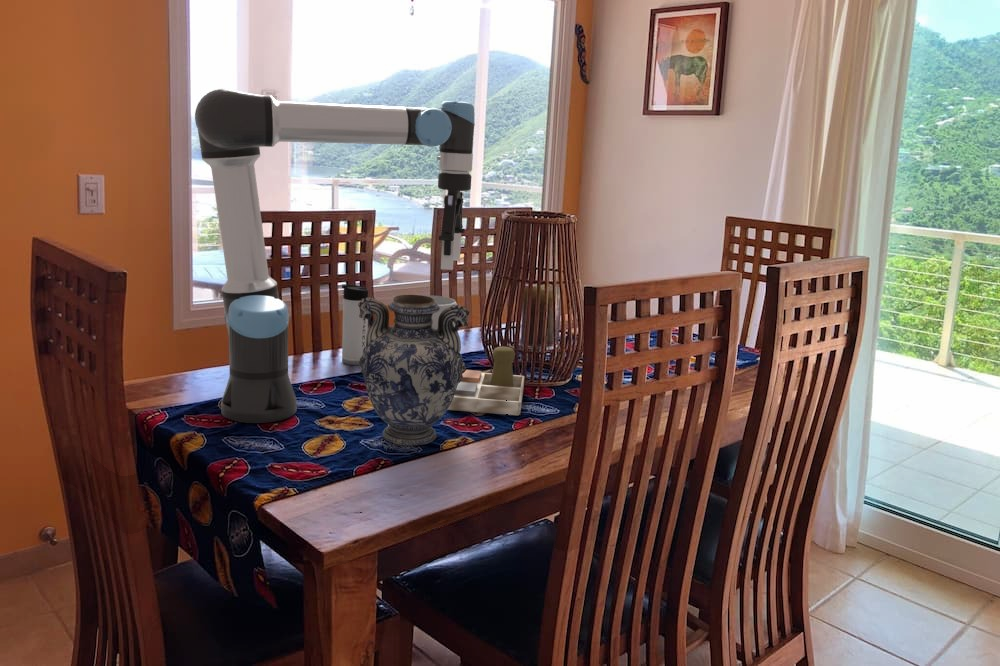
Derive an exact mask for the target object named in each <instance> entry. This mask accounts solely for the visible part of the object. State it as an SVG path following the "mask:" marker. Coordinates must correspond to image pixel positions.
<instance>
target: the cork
mask: <svg viewBox="0 0 1000 666" xmlns="http://www.w3.org/2000/svg"><path fill="white" fill-rule="evenodd" d="M515 356H516V353H515V349H513V348H512V347H509V346H497V347H495V348H494V349H493V352H492V358H493V361H494V363H493V368H492V377H491V382H490V385H492V386H505V387H514V385H513V375H514V372H513V371H514V370H513V362H514V361H515Z"/></svg>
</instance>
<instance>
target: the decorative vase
mask: <svg viewBox="0 0 1000 666" xmlns="http://www.w3.org/2000/svg"><path fill="white" fill-rule="evenodd" d="M427 296H428V295H421V294H420V295H419V294H403V295H402V294H401V295H396V296H395V297H393V300H392V301H391V302H389V304H388V305H387V306H386V305H385V304H384V303H383V302H382V301H380V300H378V299H376V298H375V297H370V296H368V297H367V298H366V299H364V298H362V299H361V302H359V303H358V306H359V308H360V314H359V317H360V318H363V319H367V320H368V325H369V326H368V331H367V334H366V347H364V349H363V355H362V356H361V358H360V361H359V365H358V366H359V367H360V369H361V370H360V371H361V374H362V376H363V379H364V383H365V389H366V392H367V395H368V398H369V401H370V402H371V405H372V408H373V410H375V413H376V415H377V416H378V417H379V418H380V419H381V420H382V421H383V422H384V423H385V424H387V425H388V426H386V427H385V428H384V429H383V431H382V438H383V440H385V441H386V442H387V443H390V444H394V445H399V446H406V447H408V446H409V447H410V446H415V447H416V446H423V445H427V444H430V443H432V442H434V440H436V438H437V431H436V430H435V428H433V425H435V424H436V423H437V422H439V421H440V420H441V418H442V417H443V416H444V415H445V414H446V412H447V411H448V410H447V409H448V408H449V406H450V404H451V402H452V400H453V398H454V395H455V392H456V389H457V385H458V383H460V381H461V379H462V378H463V375H462V374H463V373H464V372H465V371H466V370H467V367H466V364H465V362H464V361H463V356H462V354H461V350H462V342H461V341H462V340H461V336H460V335H459V332H458V330H459V328H461V327H468V326H469V323H468V319H469V318H468V316H469V315H470V311H469V310H468V309H467V307H466V306H462V305H461V304H457V305H452V306H451V307H449V308H446V309H445V310H443V311H442V313H441V314H440V315H439V319H438V329H436V330H435V329H433V327H432V323H433V320H432V315H433V313H436V312H438V311H439V310H440V308H439V306H438V305H437V304H436V303H435V301H434V299H433V298H431V297H427ZM389 310H390V311H391V312H394V313H393V314H394V319H393V322H394V325H389V324H390V312H389ZM373 314H374V315H373ZM453 322H454V323H455V327H454V326H453Z"/></svg>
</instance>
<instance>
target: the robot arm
mask: <svg viewBox="0 0 1000 666" xmlns="http://www.w3.org/2000/svg"><path fill="white" fill-rule="evenodd" d="M474 106H475V105H473V104H472V103H471V102H466V101H449V100H444V101H442V103H441V106H440V108H438V107H430V106H429V107H413V106H411V107H410V106H408V107H407V106H392V105H391V106H388V105H369V104H368V105H367V104H344V103H341V104H340V103H325V102H323V103H321V102H320V103H319V102H298V101H297V102H296V101H279V100H276V99H275V98H274V97H273V96H272V95H265V94H264V95H263V94H256V93H255V94H254V93H248V92H243V91H239V90H235V89H231V88H219V89H213V90H212V91H209V92H208V93H206V94H204V96H202V97H201V99H200V100H199V101H198V103H197V106H196V109H195V112H194V119H195V126H196V128H197V133H198V141H199V149H200V153H201V154H200V155H201V160H202V161H204V162H205V163H206V165H208V166H210V169H211V175H212V182H213V189H214V196H215V197H214V198H215V203H216V209H217V217H218V223H219V231H220V238H221V243H222V251H223V257H224V264H225V270H226V271H225V272H226V278H227V280H226V282H225V283H224V285H223V286H222V287H221V295H222V303H223V308H224V314H223V315H224V322H225V325H226V329H227V335H228V363H229V377H228V379H227V380H228V381H227V383H226V386H225V389H224V391H223V396H222V397H221V398H222V399H221V402H220V411H221V412H220V413H221V415H222V417H224V418H225V417H226V418H225V419H227V418H228V420H230V419H231V421H233V420H234V421H233V422H237V421H238V422H237V423H243V422H244V423H245V424H266V423H273V422H279V421H282V420H286V419H288V418H291V417H292V416H294V415H295V414H296V413H297V412H298V411H297V409H298V406H297V404H298V401H297V397H296V393H295V391H294V388H293V386H292V382H291V379H290V376H289V323H290V314H289V309H288V306H287V304H286V302H284V301H283V300H281V299H280V297H279V288H278V282H277V281H276V280H275V279H274V278H272V277H271V276H270V274H269V267H268V260H267V253H266V245H265V238H264V237H265V236H264V231H263V230H264V229H263V221H262V215H261V208H260V198H259V192H258V185H257V176H256V168H255V164H256V161H257V160H259V158H260V157H261V150H260V148H262V147H264V148H265V147H270V148H271V147H272V148H273V147H275V146H276V145H277V144H278V143H279V142H280V143H281V142H283V143H284V142H285V143H325V144H326V143H327V144H362V145H364V144H366V145H369V144H370V145H402V146H403V145H407V146H426V147H430V148H431V147H438V146H439V155H437V157H436V160H437V161H439V163H438V169H439V170H440V172H439V173H438V177H437V179H438V180H437V187H438V189H439V190H445V191H447V194H444V198H443V207H444V208H443V215H442V216H443V217H442V225H441V226H442V227H441V232H440V233H441V234H440V235H438V241H441V254H440V255H441V257H440V270H446V271H447V270H449V271H453V270H454V261H456V262H457V261H459V262H460V261H461V248H462V247H461V246H462V243H461V242H462V234H464V233H465V228H463V205H464V198H463V196H464V193H463V192H467V191H470V190H471V189H472V188H471V187H472V175H471V172H472V171H473V159H474V153H473V148H474V136H475V133H474V132H475V125H476V124H475V107H474Z"/></svg>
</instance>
